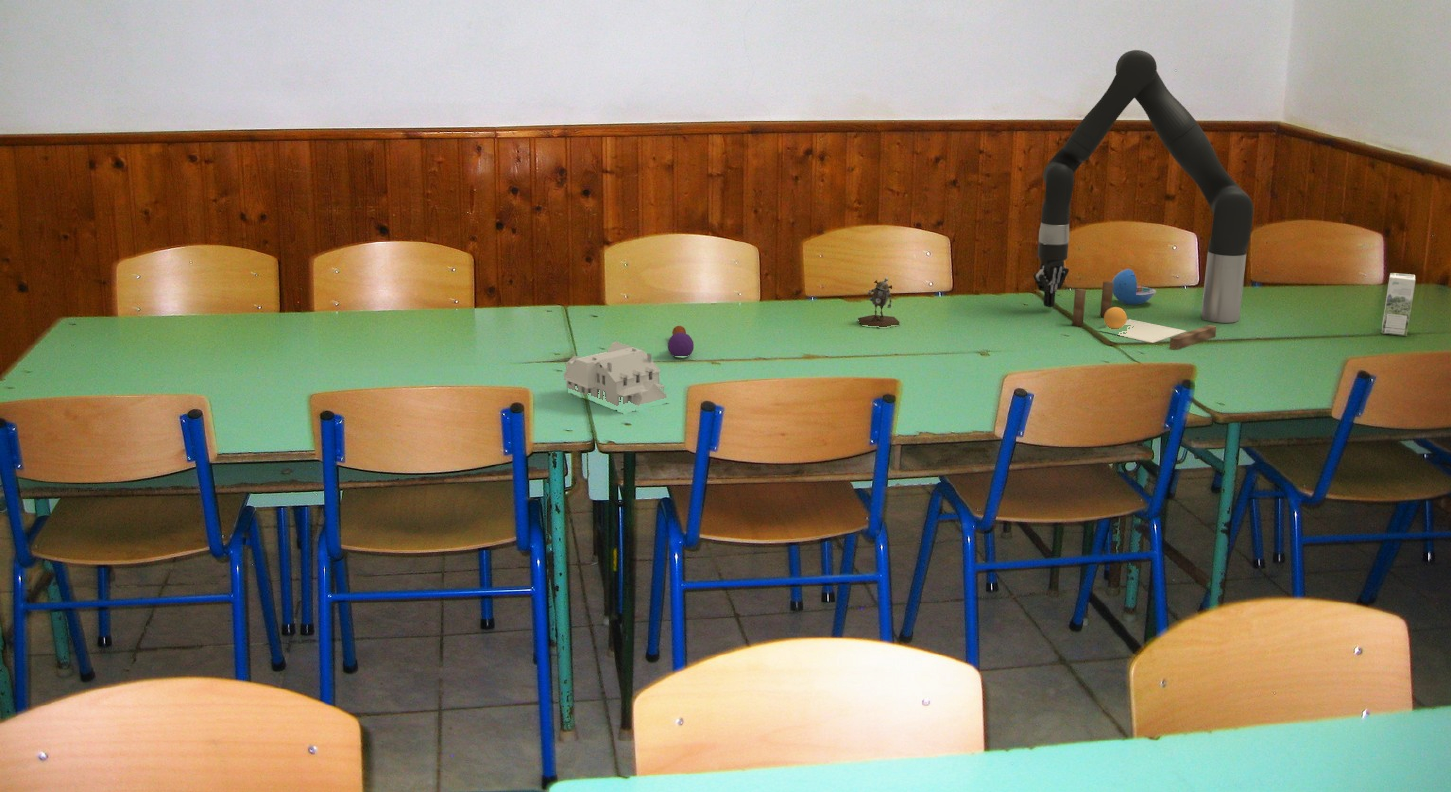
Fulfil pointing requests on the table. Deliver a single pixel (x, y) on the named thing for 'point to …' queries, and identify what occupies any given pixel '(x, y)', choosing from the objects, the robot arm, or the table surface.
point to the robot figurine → (880, 299)
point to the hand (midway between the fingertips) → (1048, 306)
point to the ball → (1115, 318)
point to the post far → (1106, 297)
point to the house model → (616, 375)
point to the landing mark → (1149, 331)
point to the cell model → (1130, 289)
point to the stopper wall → (1192, 337)
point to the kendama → (680, 342)
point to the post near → (1079, 307)
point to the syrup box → (1398, 304)
